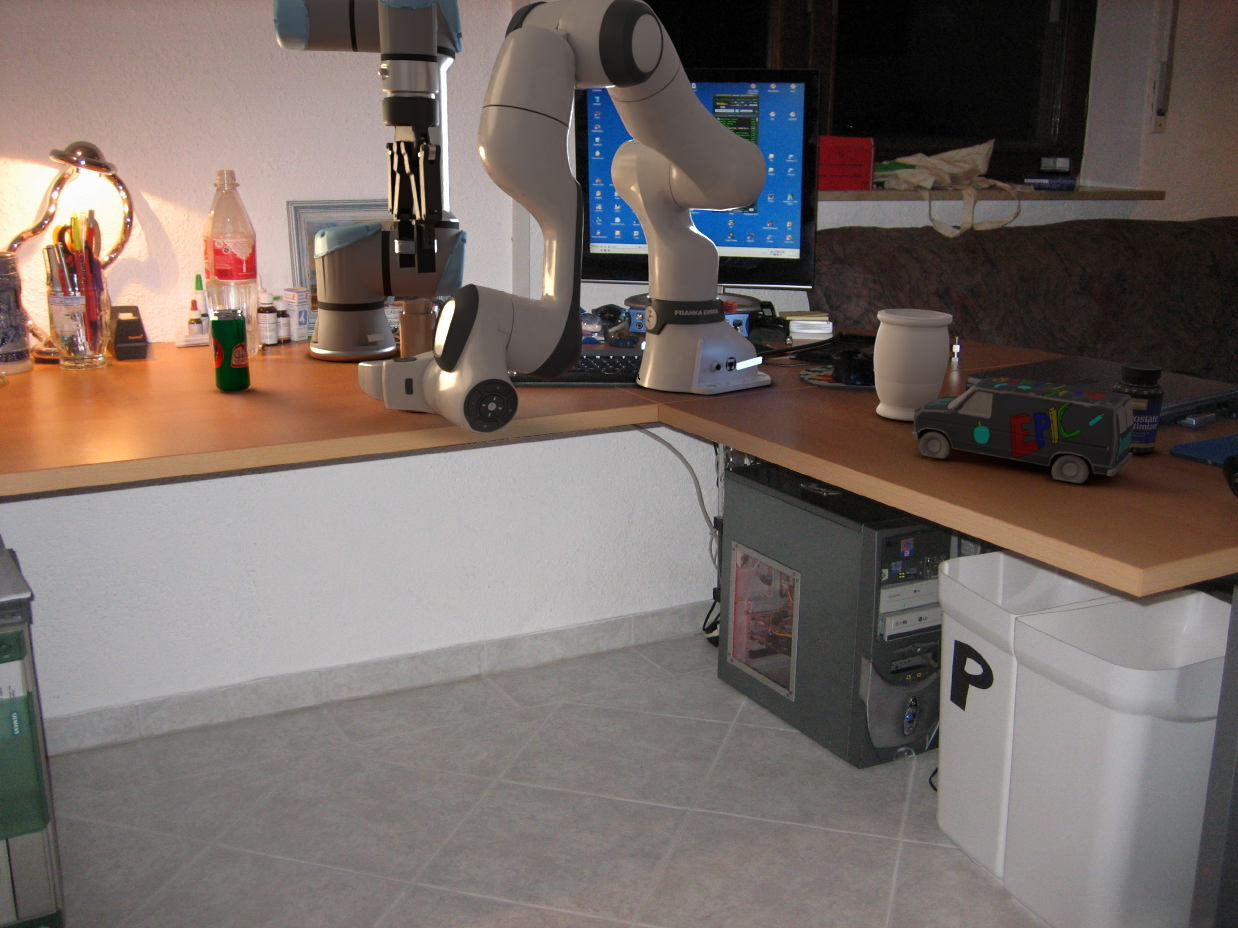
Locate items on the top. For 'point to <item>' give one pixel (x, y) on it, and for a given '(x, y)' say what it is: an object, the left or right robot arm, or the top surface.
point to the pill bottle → (1142, 402)
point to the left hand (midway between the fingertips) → (416, 269)
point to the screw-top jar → (416, 328)
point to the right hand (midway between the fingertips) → (417, 363)
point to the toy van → (1032, 426)
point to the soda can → (230, 350)
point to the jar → (910, 360)
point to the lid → (407, 245)
